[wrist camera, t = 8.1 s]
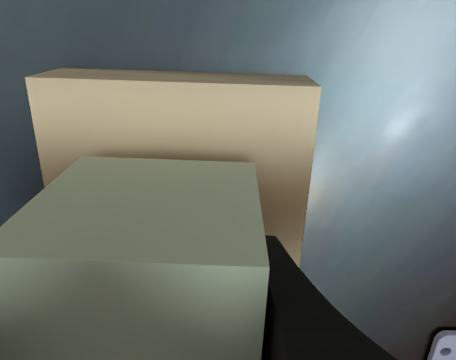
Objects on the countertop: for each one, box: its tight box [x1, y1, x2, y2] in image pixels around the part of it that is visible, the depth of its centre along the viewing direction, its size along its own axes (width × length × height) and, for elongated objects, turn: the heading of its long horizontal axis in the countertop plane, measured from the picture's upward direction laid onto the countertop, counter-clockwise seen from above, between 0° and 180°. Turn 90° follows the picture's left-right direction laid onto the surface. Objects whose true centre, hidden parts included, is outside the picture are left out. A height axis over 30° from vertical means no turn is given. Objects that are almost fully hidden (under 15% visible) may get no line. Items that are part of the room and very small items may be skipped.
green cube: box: [0, 156, 270, 360], centre depth 9 cm, size 5×5×5 cm
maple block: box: [25, 68, 322, 267], centre depth 14 cm, size 9×9×3 cm
